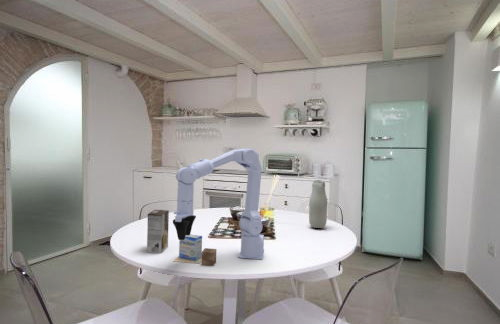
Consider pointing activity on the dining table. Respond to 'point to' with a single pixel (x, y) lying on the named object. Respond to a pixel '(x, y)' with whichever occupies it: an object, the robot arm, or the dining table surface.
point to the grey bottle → (318, 205)
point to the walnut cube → (208, 257)
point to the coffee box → (157, 231)
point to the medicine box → (190, 247)
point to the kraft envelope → (187, 260)
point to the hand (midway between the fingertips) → (184, 237)
